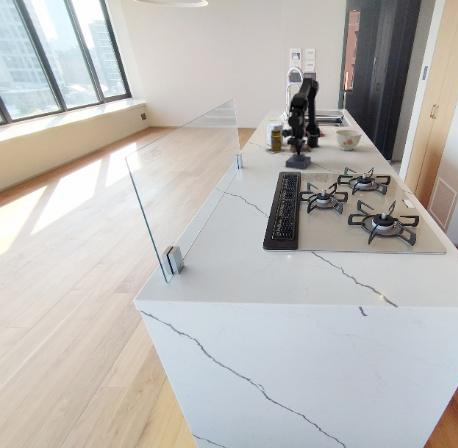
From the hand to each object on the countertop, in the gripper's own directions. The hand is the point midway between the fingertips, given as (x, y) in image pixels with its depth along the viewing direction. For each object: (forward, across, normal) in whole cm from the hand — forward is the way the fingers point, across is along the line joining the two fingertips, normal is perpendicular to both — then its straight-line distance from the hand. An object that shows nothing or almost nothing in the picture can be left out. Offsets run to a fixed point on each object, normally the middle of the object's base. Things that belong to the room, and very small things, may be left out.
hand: (298, 154), depth 150 cm
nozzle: (+2, 0, 0) cm, 2 cm away
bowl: (+6, -38, +18) cm, 43 cm away
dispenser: (+5, 0, 0) cm, 5 cm away
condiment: (+6, -18, -22) cm, 29 cm away
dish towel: (+6, -69, -16) cm, 71 cm away
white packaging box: (+6, -30, -27) cm, 40 cm away
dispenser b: (+5, -24, -8) cm, 26 cm away
